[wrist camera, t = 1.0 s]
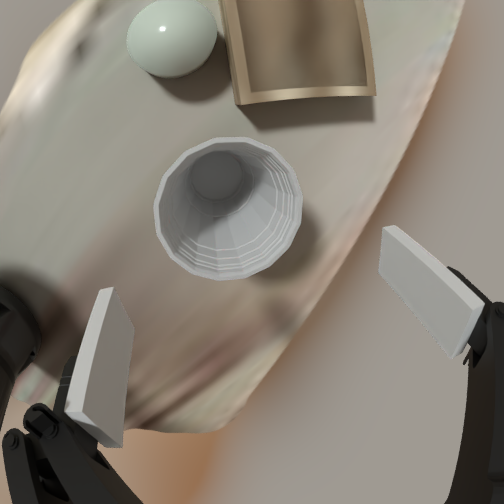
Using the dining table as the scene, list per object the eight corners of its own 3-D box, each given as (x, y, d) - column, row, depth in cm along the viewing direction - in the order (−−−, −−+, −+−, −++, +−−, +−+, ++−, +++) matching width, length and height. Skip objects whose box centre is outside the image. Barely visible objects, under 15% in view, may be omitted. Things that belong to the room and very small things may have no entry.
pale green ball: (141, 87, 24) (133, 85, 21) (130, 20, 20) (122, 9, 17) (219, 69, 25) (223, 65, 22) (208, 3, 21) (210, -10, 18)
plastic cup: (287, 159, 31) (334, 193, 21) (231, 236, 34) (250, 300, 24) (202, 104, 26) (208, 105, 16) (148, 191, 30) (127, 242, 20)
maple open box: (235, 104, 27) (241, 105, 24) (215, -14, 20) (219, -28, 16) (357, 94, 28) (376, 95, 25) (340, -13, 21) (357, -23, 18)
